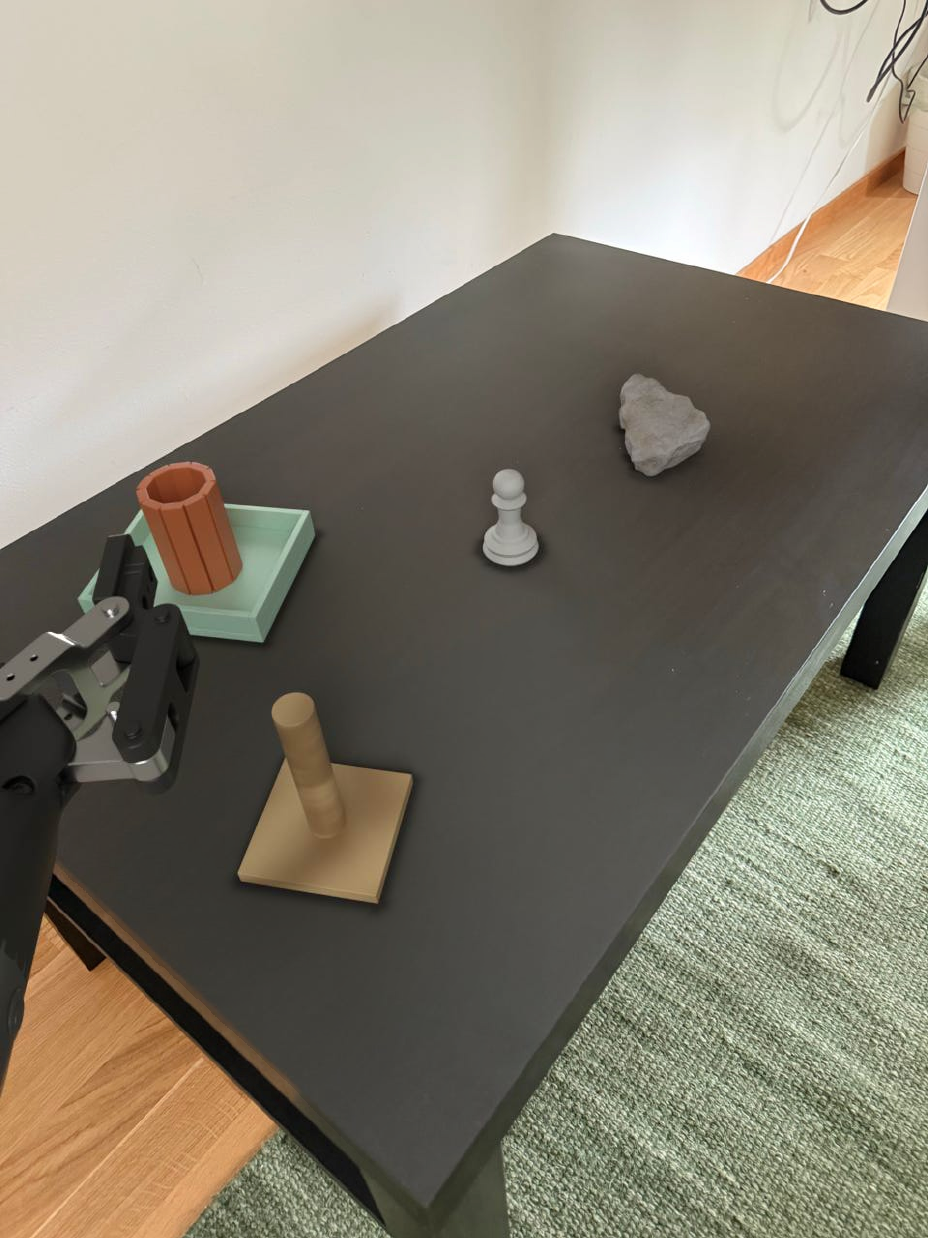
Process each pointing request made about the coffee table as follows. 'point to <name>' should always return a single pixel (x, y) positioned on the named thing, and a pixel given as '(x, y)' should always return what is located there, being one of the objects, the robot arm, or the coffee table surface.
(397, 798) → the peg stand
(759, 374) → the coffee table surface
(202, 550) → the ring collar
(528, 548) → the chess piece
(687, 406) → the stone
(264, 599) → the tray
